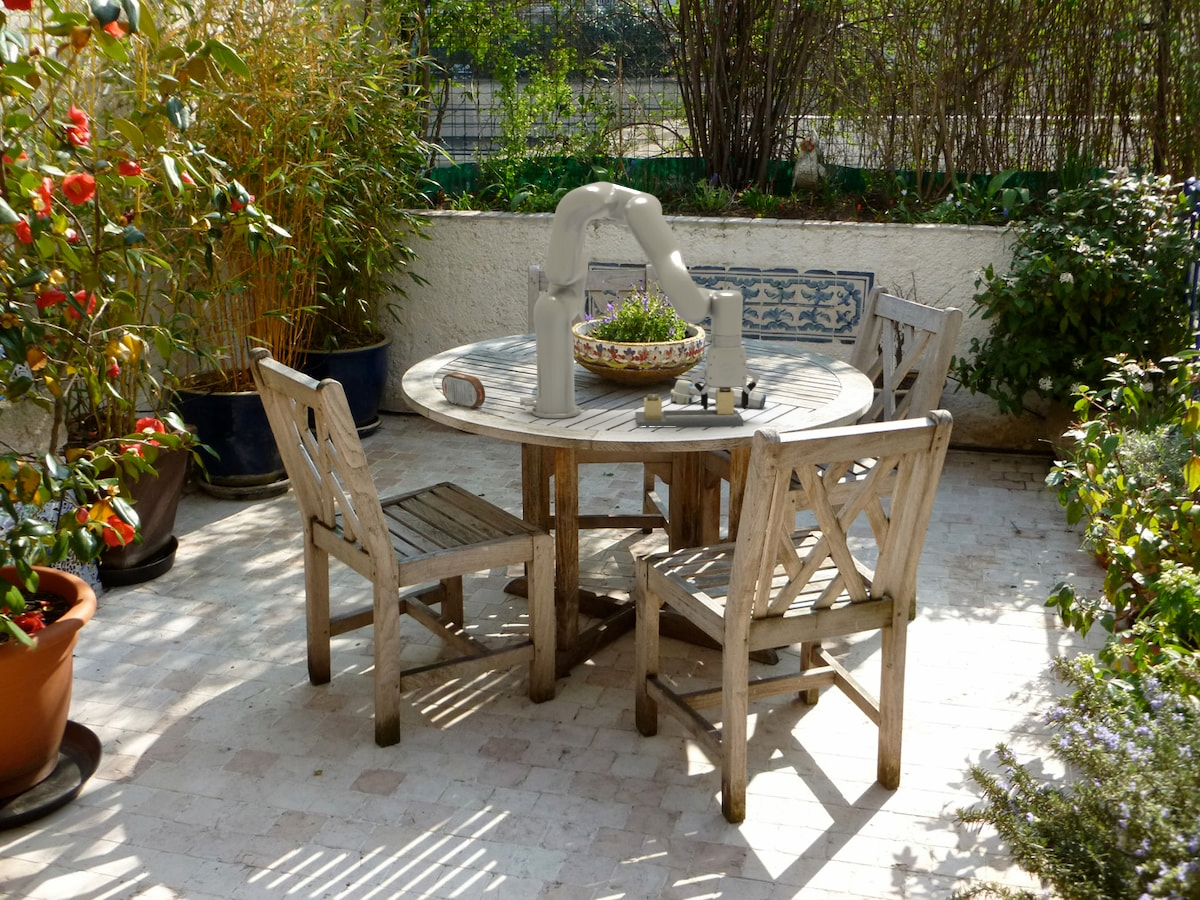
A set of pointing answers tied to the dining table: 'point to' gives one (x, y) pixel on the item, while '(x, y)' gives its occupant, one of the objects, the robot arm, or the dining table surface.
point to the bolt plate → (691, 419)
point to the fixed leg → (652, 407)
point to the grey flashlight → (711, 395)
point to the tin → (463, 389)
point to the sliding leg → (724, 401)
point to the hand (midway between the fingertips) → (724, 408)
